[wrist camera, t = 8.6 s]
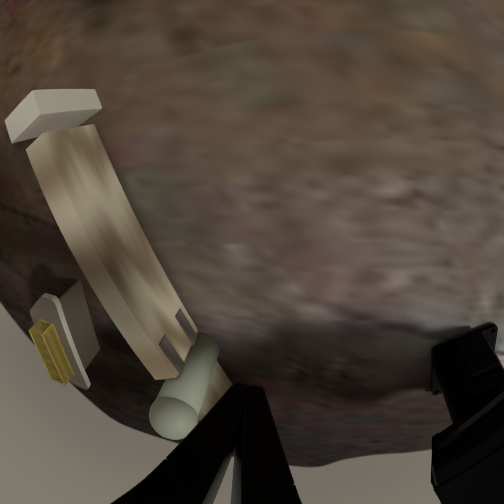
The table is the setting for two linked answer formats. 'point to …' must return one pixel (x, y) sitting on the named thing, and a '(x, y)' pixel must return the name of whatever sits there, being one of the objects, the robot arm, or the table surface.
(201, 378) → the hinge post
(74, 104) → the cream l-shaped block
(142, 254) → the cream wooden bar
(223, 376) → the block
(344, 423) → the table surface
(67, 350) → the platform
